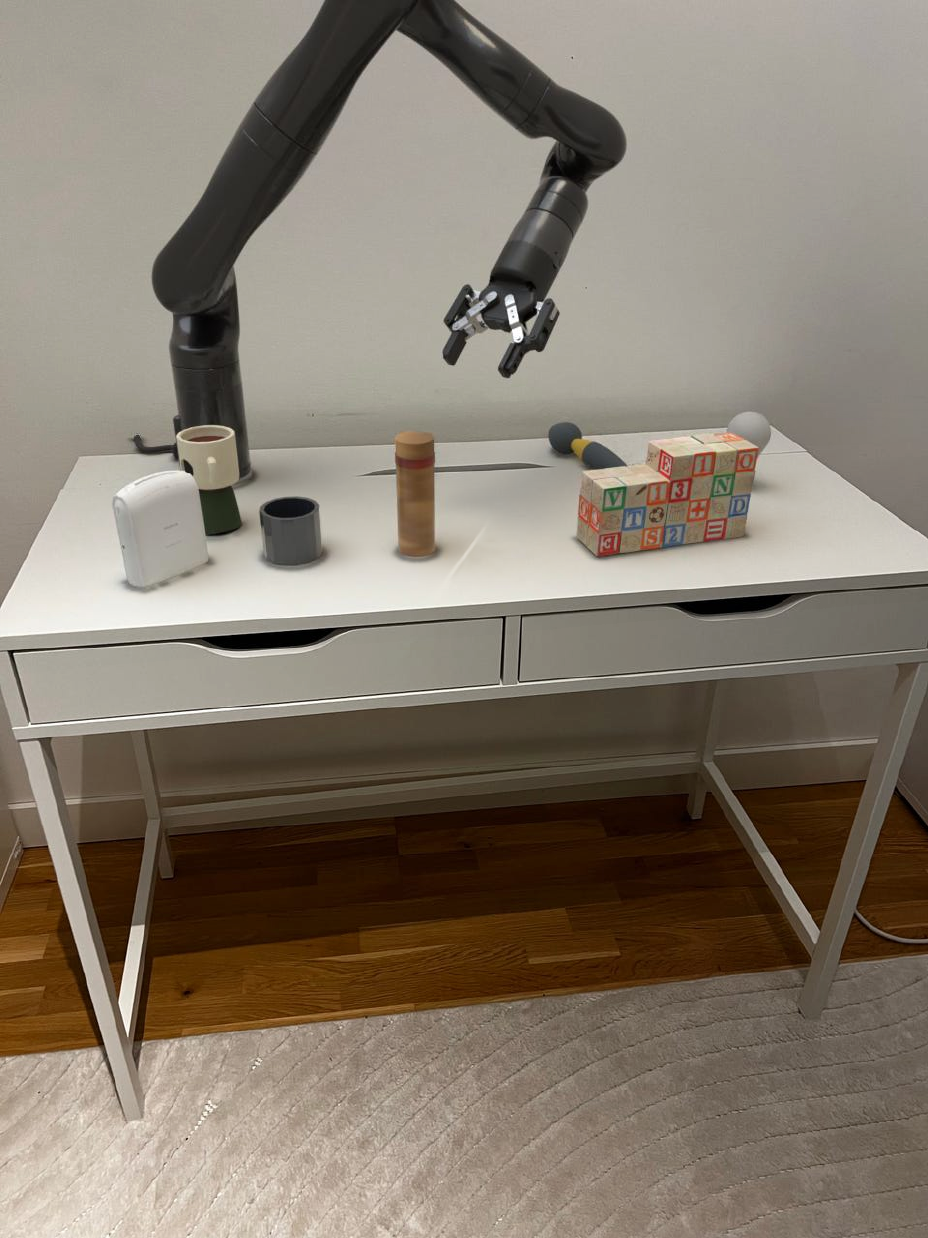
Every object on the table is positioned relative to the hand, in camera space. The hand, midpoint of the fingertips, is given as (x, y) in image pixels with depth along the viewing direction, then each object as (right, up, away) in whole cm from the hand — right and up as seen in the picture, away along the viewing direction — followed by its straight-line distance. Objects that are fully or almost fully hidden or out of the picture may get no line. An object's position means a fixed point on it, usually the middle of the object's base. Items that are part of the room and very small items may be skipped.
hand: (474, 368), depth 119 cm
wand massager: (+18, -7, +30) cm, 36 cm away
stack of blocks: (+24, -20, +7) cm, 32 cm away
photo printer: (-37, -26, -3) cm, 45 cm away
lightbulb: (+39, -12, +22) cm, 46 cm away
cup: (-22, -23, +1) cm, 32 cm away
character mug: (-34, -19, +8) cm, 40 cm away
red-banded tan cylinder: (-7, -23, +2) cm, 24 cm away
